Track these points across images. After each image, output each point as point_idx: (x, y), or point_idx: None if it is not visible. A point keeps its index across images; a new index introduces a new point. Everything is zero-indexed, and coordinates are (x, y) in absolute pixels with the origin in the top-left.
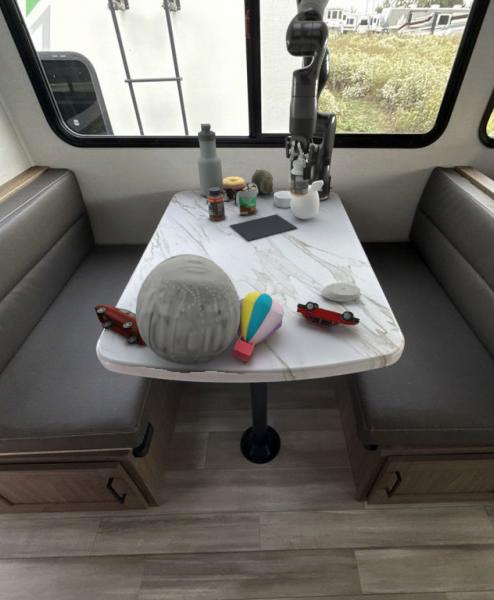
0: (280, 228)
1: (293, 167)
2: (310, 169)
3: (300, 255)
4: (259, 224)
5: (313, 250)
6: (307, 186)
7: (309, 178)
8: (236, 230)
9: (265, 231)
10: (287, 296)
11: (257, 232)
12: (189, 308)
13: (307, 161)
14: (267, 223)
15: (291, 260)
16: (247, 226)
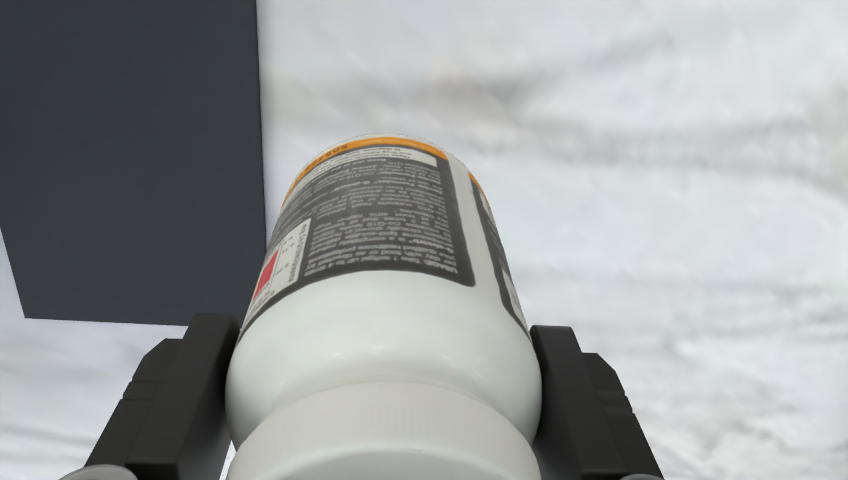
0: (209, 86)
1: (216, 460)
2: (652, 464)
3: (576, 198)
4: (82, 170)
5: (588, 98)
6: (501, 246)
7: (571, 330)
8: (116, 322)
9: (208, 198)
10: (761, 421)
11: (198, 244)
12: None
13: (451, 471)
14: (86, 114)
15: (581, 265)
16: (83, 247)
